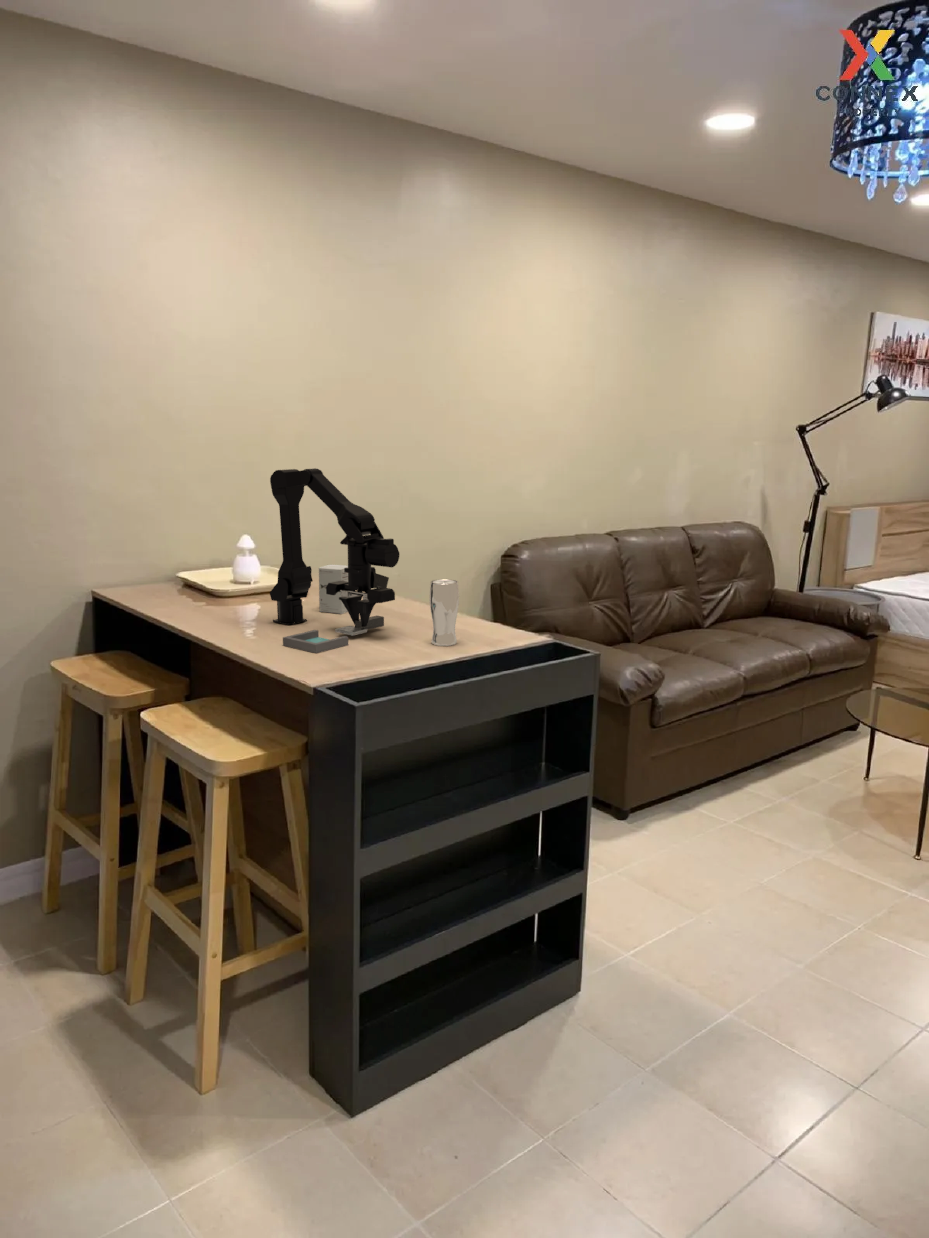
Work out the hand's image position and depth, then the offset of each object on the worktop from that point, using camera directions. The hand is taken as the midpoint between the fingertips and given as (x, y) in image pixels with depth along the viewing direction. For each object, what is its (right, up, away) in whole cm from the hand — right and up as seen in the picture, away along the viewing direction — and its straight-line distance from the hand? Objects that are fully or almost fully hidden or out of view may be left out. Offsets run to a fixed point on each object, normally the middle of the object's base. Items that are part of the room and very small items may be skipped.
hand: (360, 625), depth 224 cm
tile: (-9, -5, -10) cm, 14 cm away
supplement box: (-10, +4, +28) cm, 30 cm away
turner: (0, -1, +1) cm, 1 cm away
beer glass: (+21, -4, -8) cm, 23 cm away
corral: (-9, -4, -11) cm, 15 cm away
